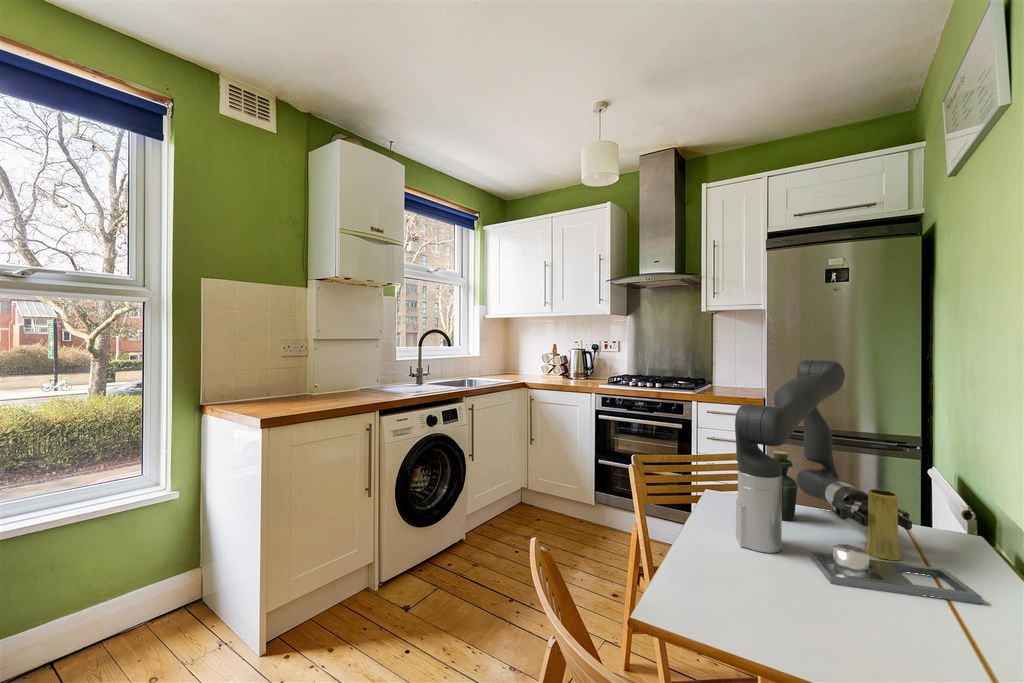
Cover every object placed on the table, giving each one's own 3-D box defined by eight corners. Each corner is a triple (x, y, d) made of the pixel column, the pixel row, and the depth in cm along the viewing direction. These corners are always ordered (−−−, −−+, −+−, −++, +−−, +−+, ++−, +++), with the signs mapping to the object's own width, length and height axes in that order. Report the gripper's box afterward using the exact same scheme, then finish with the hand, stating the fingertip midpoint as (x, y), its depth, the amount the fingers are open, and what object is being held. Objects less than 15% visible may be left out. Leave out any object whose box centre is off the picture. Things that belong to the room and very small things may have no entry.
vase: (894, 552, 104) (894, 490, 105) (904, 563, 99) (904, 498, 99) (862, 546, 107) (862, 486, 107) (870, 557, 101) (870, 494, 102)
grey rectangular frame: (830, 583, 90) (830, 558, 90) (811, 558, 100) (811, 536, 101) (981, 604, 83) (981, 577, 83) (943, 575, 94) (943, 551, 94)
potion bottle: (758, 515, 127) (758, 451, 127) (771, 509, 131) (771, 447, 132) (789, 524, 120) (790, 457, 120) (802, 518, 125) (802, 453, 125)
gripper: (818, 483, 118) (852, 505, 103) (879, 487, 116) (924, 509, 100) (818, 512, 118) (852, 538, 102) (879, 516, 116) (924, 543, 100)
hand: (887, 524), depth 101 cm, fingers open, 8 cm apart
